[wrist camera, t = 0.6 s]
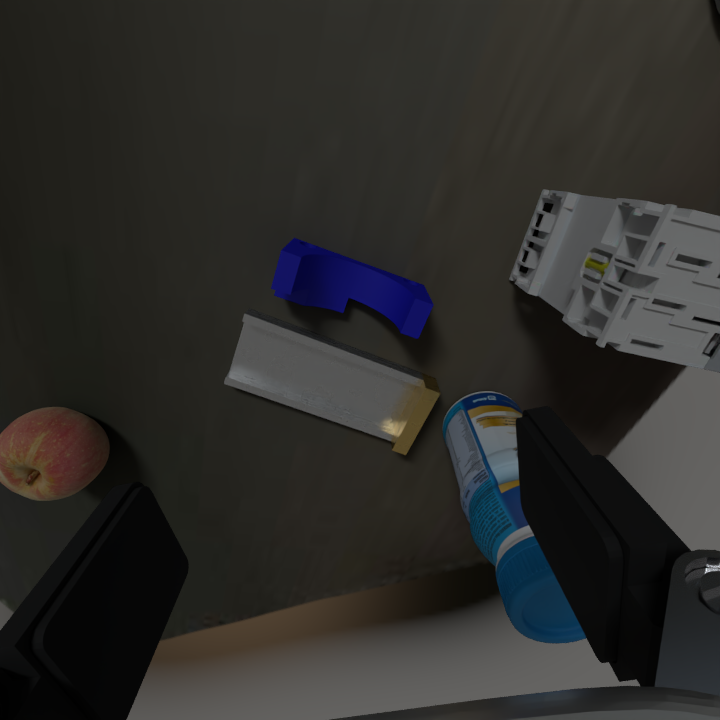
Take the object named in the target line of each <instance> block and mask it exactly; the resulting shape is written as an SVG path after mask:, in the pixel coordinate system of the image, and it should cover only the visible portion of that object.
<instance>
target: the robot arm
mask: <svg viewBox="0 0 720 720" xmlns="http://www.w3.org/2000/svg"><path fill="white" fill-rule="evenodd" d="M715 3H716V7H717V10H718V12H719V14H720V0H715ZM516 438H517V454H518V469H519V485H520V501H521V507H522V511H523V514H524V516H525V519H526V521H527V523H528V524H529V526H530V528H531V530H532V532H533V534H534V536H535V538H536V540H537V542H538V544H539V546H540V548H541V550H542V552H543V554H544V556H545V558H546V560H547V562H548V564H549V565H550V567H551V569H552V571H553V573H554V575H555V577H556V579H557V581H558V583H559V585H560V587H561V589H562V591H563V593H564V595H565V597H566V599H567V601H568V603H569V605H570V606H571V608H572V610H573V612H574V614H575V616H576V618H577V620H578V622H579V624H580V626H581V628H582V630H583V632H584V634H585V636H586V638H587V640H588V642H589V644H590V645H591V647H592V649H593V651H594V653H595V655H596V657H597V658H598V660H599V661H600V662H601V663H606V662H609V663H610V665H611V667H612V668H613V671H614V672H615V674H616V676H617V678H618V680H619V681H620V682H621V681H628V680H635V679H637V681H638V682H639V684H640V687H639V686H617V687H600V688H583V689H570V690H562V691H553V692H544V693H536V694H526V695H517V696H508V697H500V698H490V699H482V700H474V701H467V702H459V703H451V704H444V705H437V706H430V707H421V708H414V709H407V710H399V711H392V712H384V713H377V714H368V715H361V716H353V717H347V718H339V719H332V720H720V551H716V550H695V551H691V550H690V549H689V548H688V547H687V546H686V545H685V544H684V543H683V541H681V539H680V538H679V537H678V536H677V535H676V534H675V533H674V532H673V531H672V529H670V527H669V526H668V525H667V524H666V523H665V522H664V521H663V520H662V519H661V517H660V516H659V515H658V514H657V513H656V512H655V511H654V510H653V509H652V508H651V506H650V505H648V503H647V502H646V501H645V500H644V499H643V498H642V497H641V496H640V494H639V493H638V492H637V491H636V490H635V489H634V488H633V487H632V486H631V485H630V484H629V483H628V482H627V480H626V479H625V478H624V477H623V476H622V475H621V474H620V473H619V472H618V470H617V469H616V468H615V467H614V466H613V465H612V464H611V463H610V462H609V461H608V460H607V459H606V458H605V457H604V456H601V455H595V456H592V455H591V454H590V453H589V451H588V450H587V449H586V448H585V447H584V446H583V445H582V443H581V442H580V441H579V440H578V439H577V438H576V436H575V435H574V434H573V433H572V432H571V431H570V430H569V428H568V427H567V426H566V425H565V424H564V423H563V422H562V420H561V419H560V418H559V417H558V416H557V415H556V414H555V412H554V411H553V410H552V409H551V408H550V407H548V406H545V407H540V408H535V409H529V410H524V411H523V414H522V417H519V418H516ZM187 573H188V560H187V557H186V555H185V554H184V552H183V550H182V548H181V546H180V544H179V542H178V540H177V538H176V537H175V535H174V533H173V531H172V529H171V527H170V525H169V523H168V521H167V520H166V518H165V516H164V514H163V512H162V510H161V508H160V506H159V505H158V503H157V501H156V499H155V497H154V495H153V493H152V491H151V490H150V488H149V487H147V486H144V485H143V484H142V483H140V482H134V483H128V484H123V485H117V486H115V487H113V488H112V489H111V490H110V491H109V492H108V494H107V495H106V496H105V497H104V499H103V500H102V501H101V503H100V504H99V505H98V506H97V508H96V509H95V510H94V511H93V513H92V514H91V515H90V517H89V518H88V519H87V520H86V522H85V523H84V524H83V526H82V527H81V528H80V529H79V531H78V532H77V533H76V535H75V536H74V537H73V538H72V540H71V541H70V542H69V543H68V545H67V546H66V547H65V549H64V550H63V551H62V552H61V554H60V555H59V556H58V558H57V559H56V560H55V561H54V563H53V564H52V565H51V566H50V568H49V569H48V570H47V572H46V573H45V574H44V575H43V577H42V578H41V579H40V581H39V582H38V583H37V584H36V586H35V587H34V588H33V589H32V591H31V592H30V593H29V595H28V596H27V597H26V598H25V600H24V601H23V602H22V604H21V605H20V606H19V607H18V609H17V610H16V611H15V612H14V614H13V615H12V617H11V618H10V619H9V620H8V621H7V623H6V624H5V625H4V627H3V628H2V629H1V630H0V720H126V719H127V717H128V715H129V712H130V710H131V708H132V705H133V703H134V700H135V698H136V696H137V693H138V691H139V688H140V686H141V684H142V681H143V679H144V676H145V674H146V672H147V669H148V667H149V665H150V662H151V660H152V657H153V655H154V653H155V650H156V648H157V645H158V643H159V641H160V638H161V636H162V634H163V631H164V629H165V626H166V624H167V622H168V619H169V617H170V614H171V612H172V610H173V607H174V605H175V603H176V600H177V598H178V595H179V593H180V591H181V588H182V586H183V583H184V581H185V579H186V576H187Z"/></svg>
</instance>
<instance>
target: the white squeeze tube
mask: <svg viewBox="0 0 720 720" xmlns="http://www.w3.org/2000/svg"><path fill="white" fill-rule="evenodd" d="M242 322H244V325H243V328H242V332H241V335H240V338H239V342H238V345H237V349H236V352H235V355H234V359H233V362H232V365H231V369H230V371H229V373H228V374H227V376H226V378H225V382H224V384H227V385H229V386H232V387H235V388H238V389H241V390H244V391H247V392H250V393H253V394H256V395H258V396H261V397H264V398H267V399H270V400H273V401H276V402H279V403H282V404H285V405H287V406H290V407H293V408H296V409H299V410H302V411H305V412H308V413H311V414H314V415H317V416H319V417H322V418H325V419H328V420H331V421H334V422H337V423H340V424H343V425H346V426H348V427H351V428H354V429H357V430H360V431H363V432H366V433H369V434H372V435H375V436H377V437H380V438H383V439H386V440H389V441H391V445H392V451H395V452H398V453H401V454H404V455H406V454H407V452H408V450H409V449H410V447H411V445H412V443H413V441H414V440H415V438H416V436H417V434H418V433H419V431H420V429H421V427H422V425H423V424H424V422H425V420H426V418H427V417H428V415H429V413H430V411H431V409H432V408H433V406H434V404H435V402H436V400H437V399H438V397H439V395H440V391H439V388H438V385H437V382H436V378H433V377H431V376H428V375H425V374H423V373H420V372H417V371H415V370H412V369H409V368H407V367H404V366H401V365H399V364H396V363H393V362H391V361H388V360H385V359H383V358H380V357H377V356H375V355H372V354H369V353H367V352H364V351H361V350H359V349H356V348H353V347H351V346H348V345H345V344H343V343H340V342H337V341H335V340H332V339H329V338H327V337H324V336H321V335H319V334H316V333H313V332H311V331H308V330H305V329H303V328H300V327H297V326H295V325H292V324H289V323H287V322H284V321H282V320H279V319H276V318H274V317H271V316H268V315H266V314H263V313H260V312H258V311H255V310H252V309H250V308H249V309H248V310H247V311H246V313H245V314H244V317H243V321H242Z"/></svg>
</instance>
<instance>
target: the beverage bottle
mask: <svg viewBox="0 0 720 720" xmlns="http://www.w3.org/2000/svg"><path fill="white" fill-rule="evenodd" d="M522 414H523V413H522V411H521V410H520V408H519V407H518V405H517V404H516V403H515V402H514V401H513V400H512V399H510V398H509V397H507V396H505V395H503V394H501V393H497V392H491V391H482V392H476V393H472V394H469V395H467V396H465V397H463V398H461V399H460V400H458V401H457V402H456V403H455V404H453V406H452V407H451V408H450V409H449V410H448V412H447V414H446V416H445V418H444V422H443V436H444V439H445V443H446V445H447V447H448V449H449V452H450V456H451V460H452V463H453V467H454V470H455V474H456V477H457V481H458V485H459V488H460V500H461V505H462V508H463V511H464V514H465V516H466V518H467V520H468V521H469V523H470V530H471V534H472V537H473V539H474V541H475V543H476V545H477V546H478V548H479V549H480V551H481V552H482V553H483V555H484V556H485V557H486V558H487V559H488V560H489V561H490V562H491V563H492V564H493V565H494V566H495V567H496V579H497V583H498V587H499V591H500V594H501V597H502V600H503V603H504V606H505V610H506V613H507V615H508V617H509V618H510V621H511V623H512V624H513V626H514V627H515V628H516V629H517V630H518V631H519V632H520V633H521V634H523V635H524V636H526V637H528V638H530V639H533V640H536V641H540V642H545V643H569V642H574V641H579V640H582V639H585V638H586V636H585V634H584V632H583V630H582V628H581V626H580V624H579V622H578V620H577V618H576V616H575V614H574V612H573V610H572V608H571V606H570V605H569V603H568V601H567V599H566V597H565V595H564V593H563V591H562V589H561V587H560V585H559V583H558V581H557V579H556V577H555V575H554V573H553V571H552V569H551V567H550V565H549V564H548V562H547V560H546V558H545V556H544V554H543V552H542V550H541V548H540V546H539V544H538V542H537V540H536V538H535V536H534V534H533V532H532V530H531V528H530V526H529V524H528V523H527V521H526V519H525V516H524V514H523V511H522V507H521V501H520V485H519V469H518V454H517V438H516V418H519V417H522Z"/></svg>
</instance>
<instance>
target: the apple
mask: <svg viewBox="0 0 720 720" xmlns="http://www.w3.org/2000/svg"><path fill="white" fill-rule="evenodd" d="M109 450H110V446H109V439H108V437H107V435H106V433H105V431H104V429H103V428H102V427H101V426H100V425H99V424H98V423H97V422H96V421H95V420H93V419H92V418H90V417H88V416H87V415H85V414H82V413H80V412H77V411H75V410H72V409H69V408H64V407H47V408H41V409H37V410H34V411H31V412H29V413H26V414H24V415H23V416H21V417H19V418H18V419H16V420H15V421H13V422H12V423H11V424H10V425H9V426H8V427H7V428H6V429H5V430H4V431H3V432H2V433H1V434H0V482H1V483H2V484H3V485H5V486H6V487H7V488H8V489H10V490H11V491H13V492H15V493H18V494H20V495H22V496H24V497H27V498H30V499H33V500H39V501H50V500H56V499H61V498H65V497H68V496H71V495H73V494H75V493H77V492H78V491H80V490H81V489H83V488H84V487H85V486H87V485H88V484H89V483H90V482H91V481H92V480H94V479H95V478H96V477H97V475H98V474H99V473H100V472H101V470H102V469H103V468H104V466H105V464H106V462H107V460H108V457H109Z"/></svg>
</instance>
